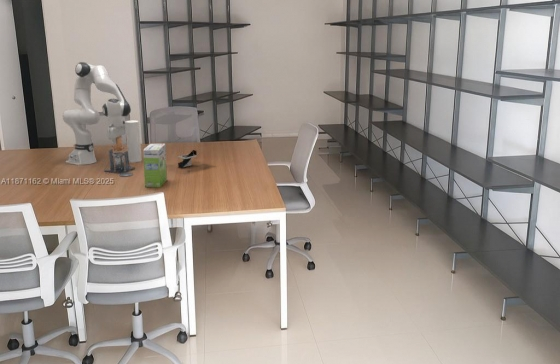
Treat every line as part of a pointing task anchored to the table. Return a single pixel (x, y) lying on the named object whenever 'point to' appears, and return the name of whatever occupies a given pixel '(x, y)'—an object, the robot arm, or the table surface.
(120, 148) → the tan rounded piece
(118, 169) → the grey ridged piece
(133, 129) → the cylinder container
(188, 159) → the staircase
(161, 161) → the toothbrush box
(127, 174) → the grey rounded piece
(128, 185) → the table surface
